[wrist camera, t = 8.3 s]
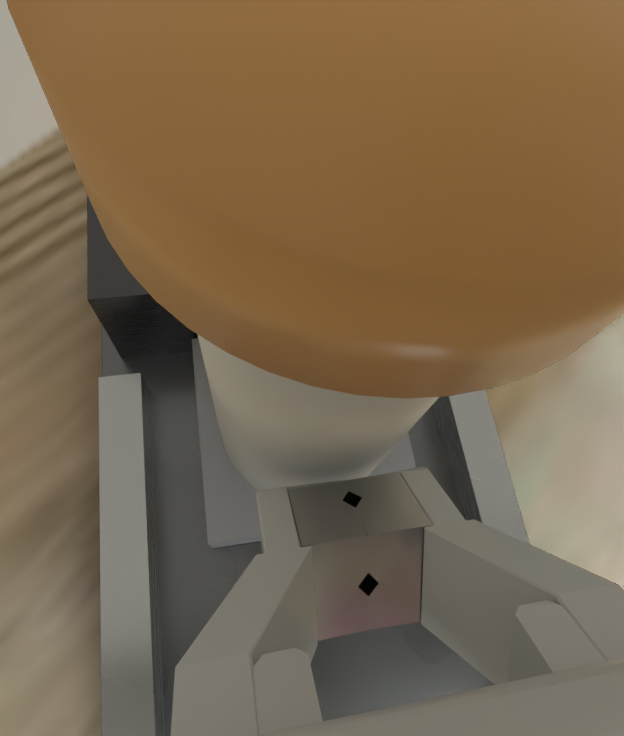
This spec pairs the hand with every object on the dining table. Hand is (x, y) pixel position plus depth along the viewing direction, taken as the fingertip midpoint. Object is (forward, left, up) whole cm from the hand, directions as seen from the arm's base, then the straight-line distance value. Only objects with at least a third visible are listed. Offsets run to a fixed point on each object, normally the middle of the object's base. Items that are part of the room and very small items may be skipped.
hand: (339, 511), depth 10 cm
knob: (0, -3, -4) cm, 5 cm away
